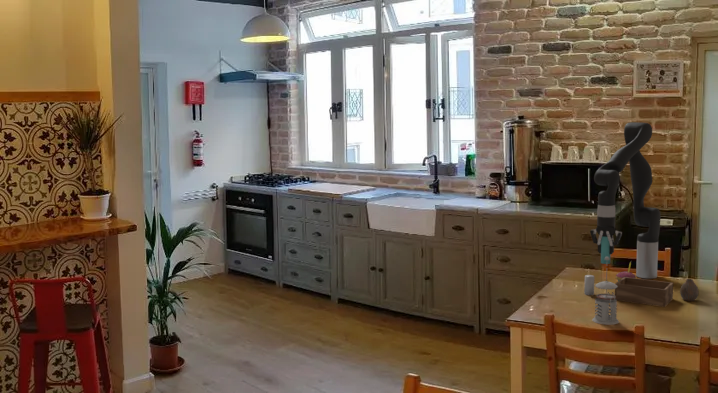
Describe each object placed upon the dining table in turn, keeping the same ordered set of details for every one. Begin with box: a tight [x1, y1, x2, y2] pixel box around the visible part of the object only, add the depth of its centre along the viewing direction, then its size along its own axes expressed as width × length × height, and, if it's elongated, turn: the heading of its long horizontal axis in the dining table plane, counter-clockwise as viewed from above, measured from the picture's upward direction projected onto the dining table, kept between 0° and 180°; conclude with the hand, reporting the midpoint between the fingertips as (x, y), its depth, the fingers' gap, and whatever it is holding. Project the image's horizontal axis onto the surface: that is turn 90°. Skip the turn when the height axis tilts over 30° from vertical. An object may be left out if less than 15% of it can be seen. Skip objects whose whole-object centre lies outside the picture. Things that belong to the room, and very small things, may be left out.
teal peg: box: [600, 236, 612, 265], centre depth 314 cm, size 4×4×12 cm
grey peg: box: [583, 274, 595, 296], centre depth 311 cm, size 4×4×8 cm
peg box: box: [614, 277, 674, 308], centre depth 300 cm, size 14×20×7 cm
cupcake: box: [615, 261, 637, 282], centre depth 321 cm, size 9×8×12 cm
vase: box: [679, 278, 699, 302], centre depth 298 cm, size 7×7×9 cm
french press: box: [591, 257, 620, 326], centre depth 270 cm, size 10×12×25 cm
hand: (605, 253), depth 314 cm, fingers closed on teal peg, 4 cm apart
